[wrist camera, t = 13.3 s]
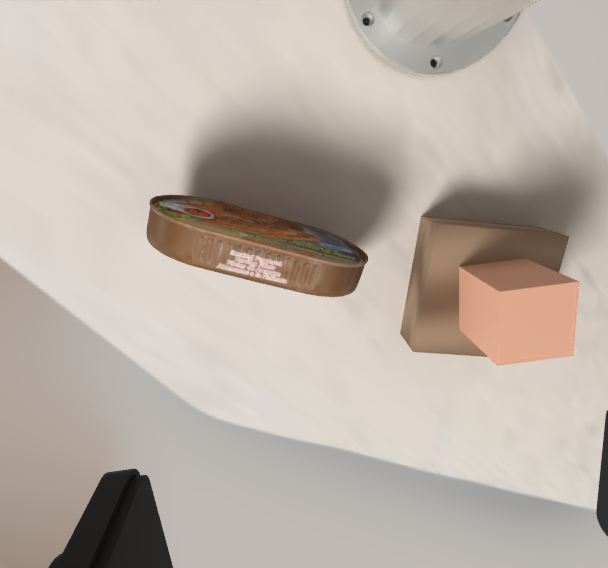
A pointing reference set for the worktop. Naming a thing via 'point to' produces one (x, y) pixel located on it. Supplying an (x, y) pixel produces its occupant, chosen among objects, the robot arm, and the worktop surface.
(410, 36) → the robot arm
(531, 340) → the salmon pink block
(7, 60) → the worktop surface
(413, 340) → the walnut base
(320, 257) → the tin
